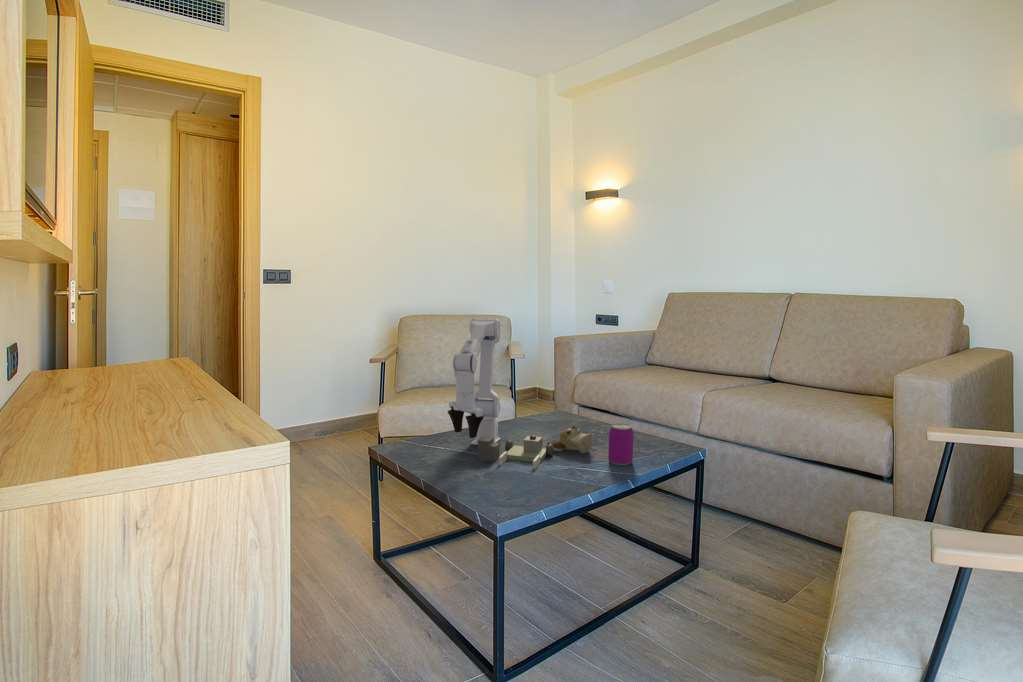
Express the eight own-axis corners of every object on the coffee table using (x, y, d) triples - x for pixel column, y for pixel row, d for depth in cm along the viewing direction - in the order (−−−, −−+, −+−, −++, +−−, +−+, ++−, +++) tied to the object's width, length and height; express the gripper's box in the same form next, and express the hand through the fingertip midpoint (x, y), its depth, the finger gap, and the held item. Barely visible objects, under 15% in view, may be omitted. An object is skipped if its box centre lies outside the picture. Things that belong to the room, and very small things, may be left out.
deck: (508, 448, 194) (508, 431, 194) (553, 453, 190) (554, 435, 189) (492, 464, 179) (492, 444, 179) (541, 469, 175) (541, 450, 174)
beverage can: (637, 463, 181) (639, 427, 179) (618, 467, 177) (620, 430, 175) (621, 456, 187) (622, 421, 186) (603, 460, 183) (604, 424, 182)
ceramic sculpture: (583, 432, 184) (545, 426, 194) (583, 458, 185) (546, 451, 194) (599, 425, 192) (562, 420, 202) (600, 450, 193) (563, 444, 203)
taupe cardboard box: (482, 455, 187) (482, 436, 187) (499, 457, 186) (499, 438, 185) (477, 459, 184) (477, 440, 183) (495, 461, 182) (495, 442, 181)
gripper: (440, 389, 178) (441, 431, 180) (469, 397, 167) (469, 442, 169) (459, 386, 183) (459, 427, 184) (488, 394, 172) (488, 437, 174)
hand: (465, 434), depth 177 cm, fingers open, 7 cm apart
